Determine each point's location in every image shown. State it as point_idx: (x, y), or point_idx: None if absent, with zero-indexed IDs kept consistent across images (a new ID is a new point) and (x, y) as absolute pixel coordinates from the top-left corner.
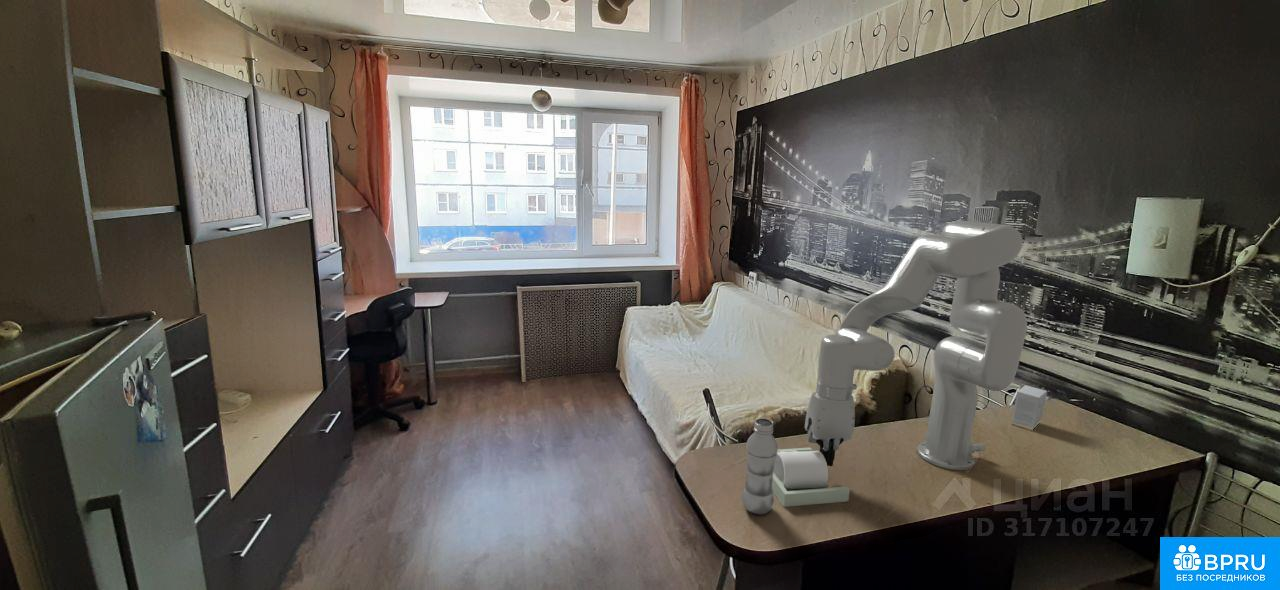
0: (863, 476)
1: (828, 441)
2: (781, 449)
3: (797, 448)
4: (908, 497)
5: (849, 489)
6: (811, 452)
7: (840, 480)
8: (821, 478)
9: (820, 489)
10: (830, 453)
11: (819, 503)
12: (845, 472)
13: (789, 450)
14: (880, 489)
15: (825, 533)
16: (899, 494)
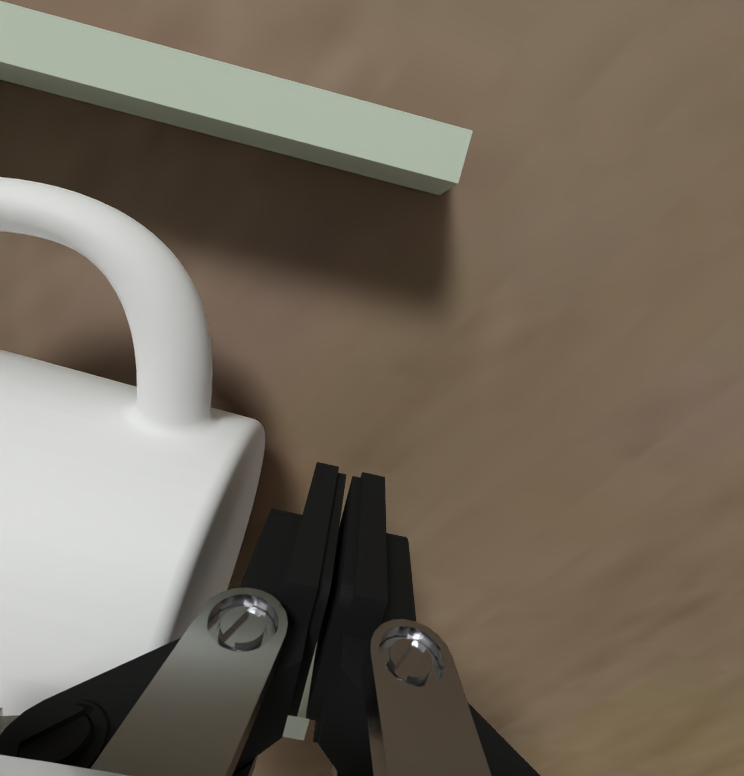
0: (625, 519)
1: (369, 690)
2: (81, 29)
3: (300, 89)
4: (654, 729)
5: (302, 736)
6: (2, 687)
7: (437, 501)
8: None
9: None
10: (311, 683)
11: None
12: (555, 442)
13: (35, 222)
14: (587, 643)
15: None
16: (638, 701)
